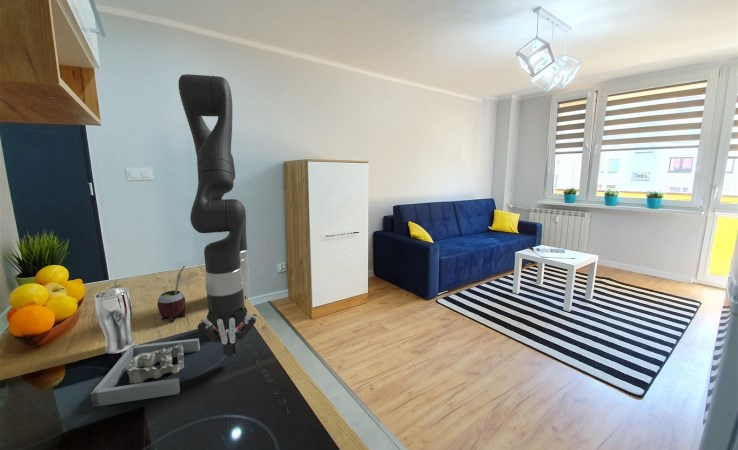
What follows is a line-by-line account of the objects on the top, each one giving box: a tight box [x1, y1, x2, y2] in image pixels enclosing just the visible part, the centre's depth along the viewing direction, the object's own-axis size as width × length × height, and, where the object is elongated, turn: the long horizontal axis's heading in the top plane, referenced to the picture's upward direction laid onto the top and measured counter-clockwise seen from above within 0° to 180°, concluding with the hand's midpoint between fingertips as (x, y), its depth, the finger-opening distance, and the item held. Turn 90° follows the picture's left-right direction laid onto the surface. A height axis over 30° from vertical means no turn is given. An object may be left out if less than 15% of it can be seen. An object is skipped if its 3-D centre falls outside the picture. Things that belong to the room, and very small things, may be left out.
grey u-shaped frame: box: [90, 337, 201, 408], centre depth 69 cm, size 16×15×3 cm
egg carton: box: [126, 343, 185, 384], centre depth 70 cm, size 11×8×4 cm
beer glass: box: [93, 287, 136, 355], centre depth 77 cm, size 7×7×15 cm
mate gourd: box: [157, 265, 186, 324], centre depth 93 cm, size 8×8×15 cm
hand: (230, 355), depth 72 cm, fingers closed
